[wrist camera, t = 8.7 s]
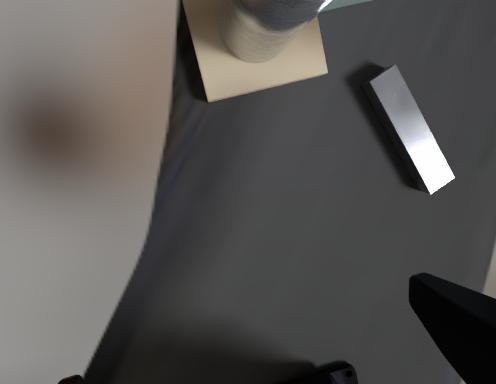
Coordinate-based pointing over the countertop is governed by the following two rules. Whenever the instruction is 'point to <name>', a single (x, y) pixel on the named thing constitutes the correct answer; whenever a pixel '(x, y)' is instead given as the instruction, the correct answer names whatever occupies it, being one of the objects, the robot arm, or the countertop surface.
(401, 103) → the bar
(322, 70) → the beige square plate
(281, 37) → the grey round peg
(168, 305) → the countertop surface
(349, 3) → the socket
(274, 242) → the countertop surface
